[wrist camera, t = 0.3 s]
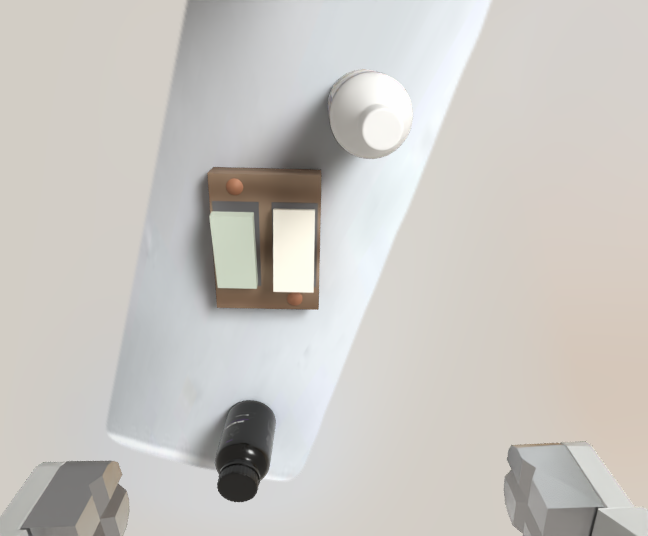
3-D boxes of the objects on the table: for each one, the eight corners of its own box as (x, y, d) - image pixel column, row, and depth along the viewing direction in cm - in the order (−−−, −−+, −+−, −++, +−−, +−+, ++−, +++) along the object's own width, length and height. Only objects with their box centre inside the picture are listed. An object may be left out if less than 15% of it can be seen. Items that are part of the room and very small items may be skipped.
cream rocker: (274, 208, 52) (273, 209, 51) (315, 209, 52) (314, 210, 51) (274, 288, 54) (273, 291, 53) (313, 289, 54) (313, 292, 53)
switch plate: (213, 167, 54) (205, 175, 50) (321, 169, 54) (321, 177, 50) (221, 296, 60) (215, 311, 57) (318, 297, 60) (318, 313, 57)
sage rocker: (211, 211, 51) (209, 216, 50) (253, 212, 51) (252, 217, 50) (219, 281, 56) (217, 287, 55) (258, 282, 56) (256, 288, 55)
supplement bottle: (237, 391, 66) (220, 458, 55) (283, 408, 67) (276, 477, 56) (219, 427, 68) (200, 498, 57) (264, 443, 70) (254, 515, 59)
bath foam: (314, 112, 52) (311, 141, 33) (354, 54, 49) (373, 52, 31) (366, 150, 53) (390, 199, 35) (406, 96, 51) (454, 118, 33)
